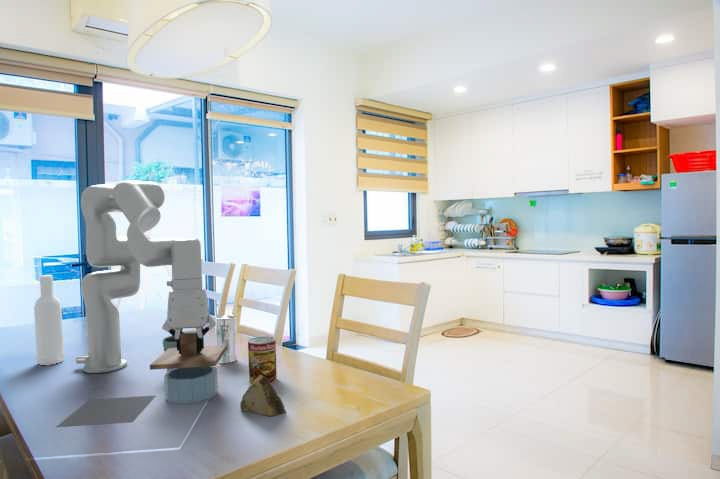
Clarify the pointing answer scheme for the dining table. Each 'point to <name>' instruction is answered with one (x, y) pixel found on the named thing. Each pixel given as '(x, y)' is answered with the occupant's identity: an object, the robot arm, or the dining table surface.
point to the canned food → (262, 358)
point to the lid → (189, 354)
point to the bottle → (48, 325)
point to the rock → (262, 398)
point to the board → (108, 411)
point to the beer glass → (226, 337)
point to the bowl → (191, 384)
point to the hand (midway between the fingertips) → (190, 351)
